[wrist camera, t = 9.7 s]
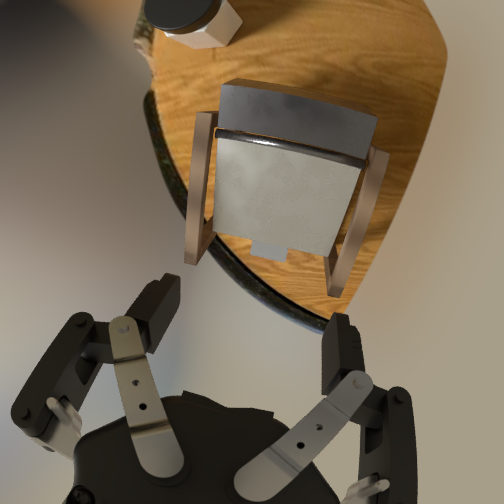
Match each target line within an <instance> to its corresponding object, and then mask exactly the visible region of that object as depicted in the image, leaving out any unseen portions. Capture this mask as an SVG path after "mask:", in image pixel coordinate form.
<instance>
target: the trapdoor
mask: <svg viewBox="0 0 504 504" xmlns="http://www.w3.org/2000/svg"><path fill="white" fill-rule="evenodd" d="M377 120H378V117H377V116H376V115H375V114H374V113H373V112H372V111H371V110H370V109H369V107H368V106H365V105H362V104H359V103H355V102H352V101H349V100H345V99H342V98H338V97H334V96H330V95H326V94H322V93H318V92H314V91H310V90H305V89H301V88H296V87H291V86H285V85H280V84H274V83H268V82H262V81H255V80H247V79H239V78H236V79H233V80H231V81H228V82H226V83H224V84H222V86H221V96H220V107H219V118H218V128H225V129H232V130H239V131H245V132H251V133H257V134H262V135H268V136H273V137H278V138H283V139H288V140H292V141H297V142H301V143H305V144H310V145H314V146H318V147H322V148H326V149H330V150H333V151H337V152H341V153H344V154H348V155H351V156H355V157H358V158H362V159H366V156H367V152H368V149H369V146H370V143H371V140H372V137H373V133H374V130H375V127H376V124H377ZM215 138H217V139H218V145H217V159H216V174H215V191H214V210H213V231H214V232H219V233H224V234H228V235H233V236H237V237H242V238H246V239H251V240H255V241H260V242H264V243H269V244H273V245H277V246H282V247H286V248H291V249H295V250H299V251H304V252H308V253H312V254H317V255H321V256H325V257H328V256H329V253H330V251H331V248H332V246H333V243H334V241H335V238H336V236H337V233H338V231H339V228H340V226H341V223H342V221H343V218H344V215H345V213H346V210H347V207H348V205H349V202H350V199H351V196H352V194H353V191H354V188H355V185H356V182H357V179H358V177H359V174H360V171H361V170H364V169H365V166H366V161H364V160H361V159H358V158H354V157H351V156H347V155H344V154H340V153H336V152H333V151H329V150H325V149H321V148H317V147H313V146H309V145H305V144H300V143H296V142H291V141H287V140H282V139H277V138H272V137H267V136H261V135H256V134H250V133H244V132H238V131H231V130H224V129H216V132H215Z"/></svg>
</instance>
